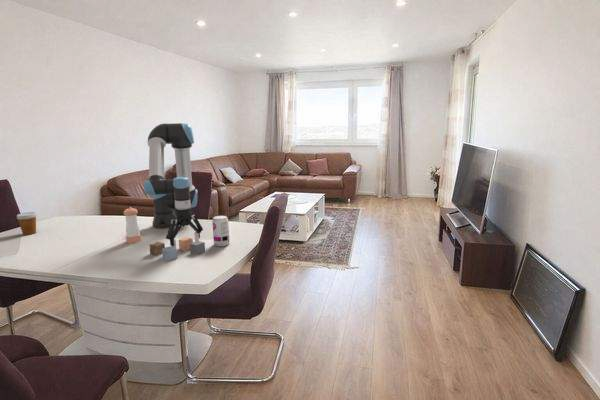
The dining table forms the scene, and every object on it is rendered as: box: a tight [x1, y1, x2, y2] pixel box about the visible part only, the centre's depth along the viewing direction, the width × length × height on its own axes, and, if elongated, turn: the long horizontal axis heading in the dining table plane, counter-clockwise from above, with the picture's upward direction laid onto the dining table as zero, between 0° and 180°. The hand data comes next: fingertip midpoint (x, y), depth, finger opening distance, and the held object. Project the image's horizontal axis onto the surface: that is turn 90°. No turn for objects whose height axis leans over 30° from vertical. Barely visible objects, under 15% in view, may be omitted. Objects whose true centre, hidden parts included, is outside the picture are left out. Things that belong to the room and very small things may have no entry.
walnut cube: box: [148, 241, 166, 257], centre depth 175 cm, size 5×5×5 cm
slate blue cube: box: [161, 245, 178, 262], centre depth 168 cm, size 5×5×5 cm
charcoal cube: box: [189, 240, 206, 256], centre depth 175 cm, size 5×5×5 cm
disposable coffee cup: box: [16, 211, 37, 236], centre depth 208 cm, size 10×10×12 cm
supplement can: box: [211, 215, 230, 247], centre depth 186 cm, size 8×8×15 cm
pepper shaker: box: [123, 206, 142, 244], centre depth 192 cm, size 7×7×19 cm
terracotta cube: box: [178, 236, 194, 252], centre depth 182 cm, size 5×5×5 cm
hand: (186, 248), depth 182 cm, fingers open, 13 cm apart
